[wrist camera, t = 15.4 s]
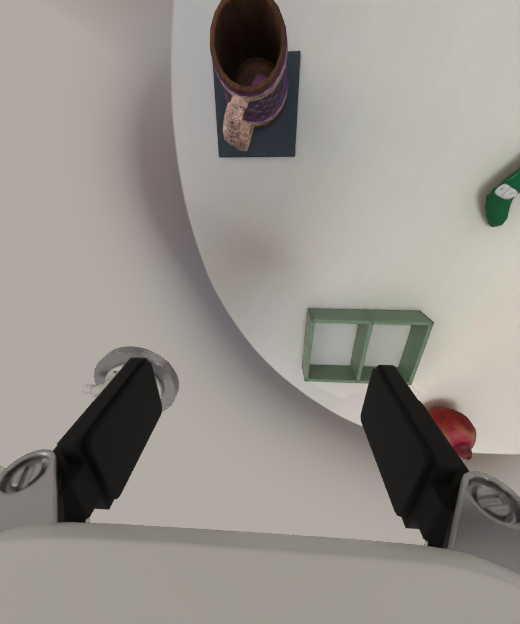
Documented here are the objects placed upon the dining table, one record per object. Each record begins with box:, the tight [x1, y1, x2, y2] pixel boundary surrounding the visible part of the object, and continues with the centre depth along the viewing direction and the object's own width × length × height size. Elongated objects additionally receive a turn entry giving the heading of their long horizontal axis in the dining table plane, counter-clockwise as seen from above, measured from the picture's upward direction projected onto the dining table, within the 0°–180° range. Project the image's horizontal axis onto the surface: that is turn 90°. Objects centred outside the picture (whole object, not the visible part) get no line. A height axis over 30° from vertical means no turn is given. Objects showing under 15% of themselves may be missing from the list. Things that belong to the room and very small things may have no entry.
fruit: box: [429, 407, 476, 460], centre depth 47 cm, size 8×8×10 cm
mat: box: [213, 51, 300, 157], centre depth 30 cm, size 10×10×1 cm
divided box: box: [302, 309, 434, 385], centre depth 43 cm, size 19×13×4 cm
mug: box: [210, 0, 288, 151], centre depth 25 cm, size 10×7×12 cm
